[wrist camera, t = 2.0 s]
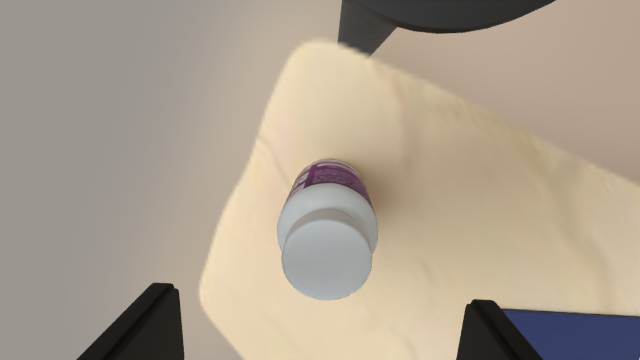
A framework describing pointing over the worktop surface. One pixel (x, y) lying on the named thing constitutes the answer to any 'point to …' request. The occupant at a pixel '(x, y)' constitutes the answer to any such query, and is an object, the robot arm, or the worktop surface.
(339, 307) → the worktop surface
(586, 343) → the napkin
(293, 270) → the pill bottle
